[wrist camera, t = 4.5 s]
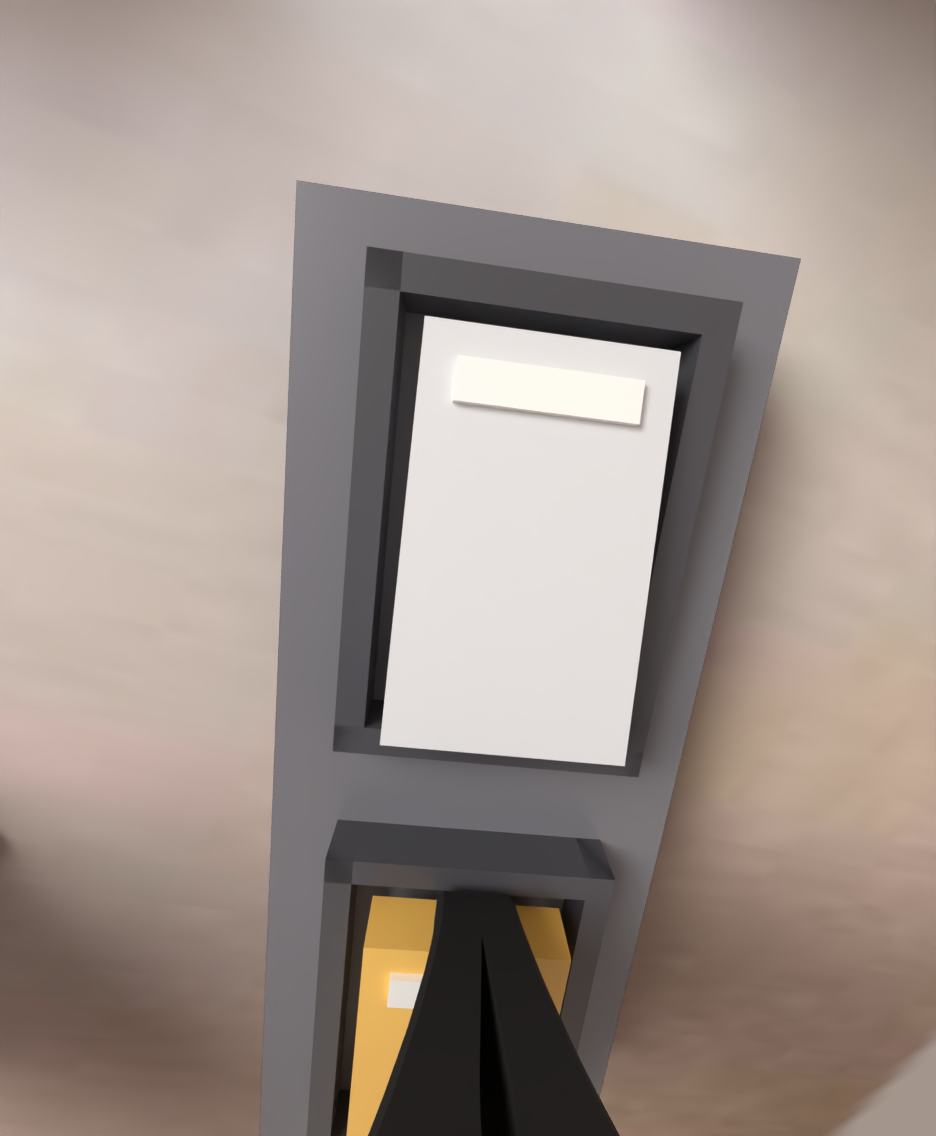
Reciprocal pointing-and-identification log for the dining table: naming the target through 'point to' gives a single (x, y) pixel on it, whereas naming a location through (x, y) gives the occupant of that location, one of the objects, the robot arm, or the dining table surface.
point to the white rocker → (527, 542)
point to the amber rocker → (395, 981)
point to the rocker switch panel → (368, 586)
